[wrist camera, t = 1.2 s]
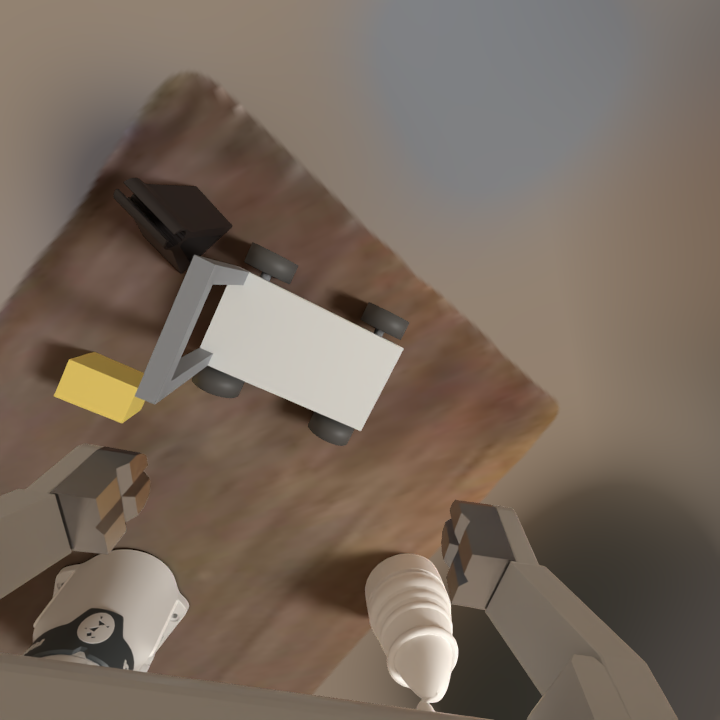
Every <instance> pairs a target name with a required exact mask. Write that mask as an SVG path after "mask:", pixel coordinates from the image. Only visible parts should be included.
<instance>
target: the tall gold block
mask: <svg viewBox="0 0 720 720" xmlns="http://www.w3.org/2000/svg"><path fill="white" fill-rule="evenodd" d="M143 375H144V373H142V372H140V371H138V370H135V369H133V368H131V367H128V366H126V365H124V364H121V363H119V362H117V361H114V360H112V359H110V358H107V357H105V356H103V355H100V354H98V353H96V352H92V353H89V354H85V355H82V356H78V357H75V358H72V359H69V361H68V363H67V366H66V368H65V370H64V373H63V375H62V378H61V380H60V382H59V385H58V387H57V390H56V392H55V395H54V397H57V398H59V399H62V400H64V401H67V402H69V403H72V404H74V405H77V406H80V407H82V408H85V409H87V410H90V411H92V412H95V413H97V414H100V415H102V416H105V417H107V418H110V419H112V420H115V421H117V422H120V423H123V422H125V421H126V420H127V419H129V418H130V417H132V416H133V415H135V414H136V413H137V412H139V411H140V410H141V408H142V406H143V404H144V402H145V400H142V399H140V398H137V397H135V394H136V392H137V389H138V387H139V385H140V382H141V380H142V377H143Z"/></svg>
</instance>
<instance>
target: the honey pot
mask: <svg viewBox="0 0 720 720" xmlns="http://www.w3.org/2000/svg"><path fill="white" fill-rule="evenodd" d="M365 597H366V604H367V610H368V615H369V620H370V625H371V628H372V630H373V633H374V635H375V636H376V638H377V639H378V641H379V643H380V645H381V647H382V649H383V651H384V653H385V654H386V655H387V668H388V670H389V673H390V676H391V677H392V678H393V679H394V680H395V681H396V682H397V683H399V684H400V685H402V686H404V687H408V688H411V689H412V690H413V692H414V693H415V694H416V695H418V696H419V697H420V698H422V700H421V701H420V703H419V704H418V706H417V708H416V709H418V710H425V711H433V712H435V711H434V709H433V707H432V706H431V705H430V704H429V703H430V702H431V703H434V702H437V701H439V700H441V699H442V697H443V696H444V694H445V693H446V690H447V688H448V684H449V680H450V674H451V672H452V670H453V668H454V667H455V665H456V662H457V658H458V646H457V643H456V640H455V639H454V637H453V636H452V622H451V603H450V600H449V597H448V594H447V592H446V589H445V587H444V584H443V582H442V580H441V578H440V575H439V573H438V570H437V569H436V567H435V566H434V564H433V563H432V562H431V561H429V560H428V559H427V558H425V557H423V556H420V555H417V554H408V553H405V554H398V555H395V556H392V557H389V558H387V559H385V560H384V561H382V562H381V563H379V564H378V565H377V566H376V567H375V568H374V569H373V570H372V572H371V573H370V575H369V577H368V579H367V582H366V586H365Z"/></svg>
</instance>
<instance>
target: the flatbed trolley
mask: <svg viewBox="0 0 720 720" xmlns="http://www.w3.org/2000/svg"><path fill="white" fill-rule="evenodd" d="M244 262H245V263H247V264H249V265H251V266H253V267H255V268H257V269H259V270H261V271H263V272H262V274H261V276H260V277H259V276H257V275H255V274H253V273H251V272H249V271H247V270H245V269H243V268H241V267H239V266H235V265H231V264H228V263H224V262H220V261H216V260H212V259H209V258H205V257H201V256H197V255H194V256H193V259H192V261H191V264H190V266H189V268H188V271H187V273H186V275H185V278H184V280H183V283H182V285H181V287H180V290H179V292H178V294H177V297H176V299H175V302H174V304H173V306H172V309H171V311H170V313H169V316H168V318H167V321H166V323H165V325H164V328H163V330H162V332H161V335H160V337H159V339H158V342H157V344H156V347H155V349H154V351H153V354H152V356H151V358H150V361H149V363H148V366H147V368H146V370H145V373H144V375H143V377H142V380H141V382H140V385H139V387H138V389H137V392H136V394H135V397H137V398H140V399H142V400H145V401H147V402H150V403H153V404H156V403H158V402H159V401H160V400H162V399H163V398H164V397H166V396H167V395H168V394H170V393H171V392H173V391H174V390H175V389H177V388H178V387H179V386H181V385H182V384H183V383H185V382H186V381H187V380H189V379H190V378H191V377H193V378H192V381H193V383H194V384H195V385H196V386H197V387H199V388H200V389H202V390H204V391H206V392H208V393H210V394H213V395H216V396H220V397H225V398H235V397H237V396H238V395H239V393H240V391H241V389H242V387H243V384H244V382H247V383H250V384H252V385H254V386H257V387H259V388H261V389H264V390H266V391H268V392H271V393H273V394H275V395H278V396H280V397H282V398H285V399H287V400H289V401H292V402H294V403H296V404H299V405H301V406H303V407H306V408H308V409H310V410H313V411H314V413H313V415H312V417H311V419H310V421H309V423H308V427H309V429H310V430H311V431H312V432H313V433H314V434H315V435H316V436H318V437H319V438H321V439H323V440H325V441H327V442H329V443H332V444H335V445H340V446H343V445H346V444H347V443H348V441H349V439H350V437H351V435H352V433H353V431H354V429H357V430H359V431H361V430H362V428H363V426H364V424H365V422H366V420H367V418H368V416H369V414H370V413H371V411H372V409H373V407H374V405H375V403H376V401H377V399H378V397H379V395H380V393H381V391H382V389H383V388H384V386H385V384H386V382H387V380H388V378H389V376H390V374H391V372H392V370H393V368H394V366H395V364H396V363H397V361H398V359H399V357H400V355H401V353H402V351H403V349H404V348H402V347H401V346H399V345H397V344H395V343H393V342H391V341H389V340H387V339H385V338H383V337H382V335H383V334H384V332H385V333H387V334H389V335H391V336H393V337H395V338H397V339H400V340H401V338H402V336H403V334H404V332H405V330H406V329H407V327H408V325H409V322H408V321H406V320H404V319H402V318H400V317H398V316H396V315H394V314H393V313H391V312H389V311H387V310H385V309H383V308H380V307H378V306H376V305H374V304H372V303H370V302H369V303H368V305H367V307H366V309H365V311H364V313H363V315H362V317H361V319H360V320H362V321H364V322H366V323H368V324H369V325H371V326H373V327H375V328H376V329H375V331H374V333H373V332H371V331H369V330H367V329H364V328H362V327H360V326H358V325H356V324H354V323H352V322H350V321H348V320H346V319H344V318H342V317H340V316H338V315H336V314H334V313H332V312H330V311H328V310H326V309H324V308H322V307H320V306H318V305H316V304H314V303H312V302H310V301H308V300H306V299H304V298H302V297H300V296H298V295H296V294H294V293H292V292H290V291H288V290H286V289H284V288H282V287H280V286H278V285H275V284H273V283H271V282H269V281H270V279H271V277H272V276H273V277H275V278H277V279H279V280H281V281H283V282H285V283H288V284H290V283H291V281H292V279H293V276H294V274H295V272H296V270H297V268H298V265H296V264H294V263H292V262H291V261H289V260H287V259H285V258H283V257H281V256H279V255H277V254H276V253H274V252H272V251H270V250H268V249H266V248H264V247H262V246H260V245H258V244H255V243H253V242H252V245H251V247H250V249H249V251H248V254H247V256H246V258H245V260H244ZM212 285H227V287H226V289H225V291H224V294H223V296H222V298H221V300H220V303H219V305H218V307H217V310H216V312H215V314H214V316H213V319H212V321H211V323H210V325H209V328H208V330H207V332H206V335H205V337H204V339H203V341H202V344H201V346H200V348H198V349H196V350H194V351H193V352H191V353H189V354H187V355H185V356H183V357H181V356H182V354H183V352H184V349H185V347H186V345H187V343H188V340H189V338H190V336H191V333H192V331H193V329H194V326H195V324H196V322H197V319H198V317H199V315H200V313H201V310H202V308H203V306H204V303H205V301H206V299H207V296H208V294H209V292H210V290H211V287H212Z"/></svg>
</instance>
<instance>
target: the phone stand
mask: <svg viewBox="0 0 720 720" xmlns="http://www.w3.org/2000/svg"><path fill="white" fill-rule="evenodd" d="M124 184H125V185H126V186H127V187H128V188H129V189H130V190H131V191H132V192H133V193H134V194H133V195H132V196H131V197H128V198H127V197H126V196H125V195H124V194H123V193H122V192H121V191H120V190H119V189H116V190H115V192H114V199H115V200H116V201H117V202H118V203H119V204H120V205H121V206H122V207H123V208H124V209H125V210H126V211H127V212H128V213H129V214H130V215H131V216H132V217H133V218H134V220H135V222H136V223H137V225H138V227H139V229H140V231H141V233H142V235H143V236H144V237H145V238H146V239H147V240H148V241H149V242H150V243H151V244H152V245H153V246H154V247H155V248H156V249H157V250H158V251H159V252H160V253H161V254H162V255H163V256H164V257H165V258H166V259H167V260H168V261H169V262H170V263H171V264H172V265H173V266H174V267H175V268H176V269H177V270H178V271H179V272H180V273H183V272H184V271H185V270H186V269H187V268H189V266H190V264H191V261H192V259H193V256H194V255H197V256H201V255H202V254H204V253H205V252H206V250H207V249H209V248H210V247H211V246H212V245H213V244H214V243H215V242H216V241H217V240H219V239H220V238H221V237H222V236H223V235H224V234H225V233H226V232H227V231H228V230H229V229H230V228H231V227H232V225H231V224H230V223H229V222H228V221H227V219H226V218H225V217H224V216H223V215H222V214H221V213H220V212H219V211H218V210H217V209H216V207H215V206H214V205H213V204H212V203H211V202H210V201H209V200H208V199H207V198H206V197H205V195H204V194H203V193H202V192H201V191H200V190H199V189H198V188H197V187H196V186H176V185H153V184H145V183H143V182H142V181H141V180H140V179H138V178H131V179H128V180H126V181H124Z"/></svg>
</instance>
